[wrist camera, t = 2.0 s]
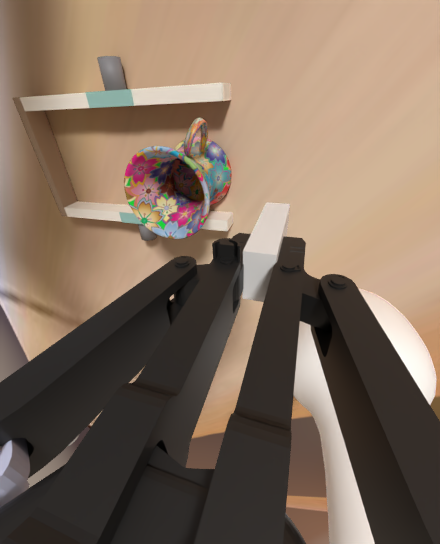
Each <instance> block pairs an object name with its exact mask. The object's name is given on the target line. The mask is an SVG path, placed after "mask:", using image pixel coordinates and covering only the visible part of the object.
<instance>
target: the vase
mask: <svg viewBox="0 0 440 544" xmlns="http://www.w3.org/2000/svg"><path fill="white" fill-rule="evenodd" d="M358 289H359V291H360V293H361V294H362V296H363V297H364V299H365V301H366V302H367V304H368V306H369V307H370V309H371V310H372V312H373V314H374V315H375V317H376V319H377V320H378V322H379V323H380V325H381V327H382V328H383V330H384V332H385V333H386V335H387V336H388V338H389V340H390V341H391V343H392V345H393V346H394V348H395V349H396V351H397V353H398V354H399V356H400V358H401V359H402V361H403V362H404V364H405V366H406V367H407V369H408V371H409V372H410V374H411V375H412V377H413V379H414V380H415V382H416V384H417V385H418V387H419V388H420V390H421V392H422V393H423V395H424V397H425V398H426V400H427V401H428V403H429V405H430V404H431V402H432V400H433V398H434V396H435V390H436V373H435V369H434V365H433V362H432V359H431V356H430V354H429V351H428V349H427V347H426V345H425V344H424V342H423V340H422V339H421V337H420V336H419V335H418V333H417V332H416V330H415V329H414V327H413V326H412V325H411V323H410V322H409V321H408V320H407V319H406V317H405V316H404V315H403V314H402V313H401V312H400V311H399V310H397V309H396V308H395V307H394V306H393V305H392V304H391V303H389V302H388V301H387V300H385V299H383V298H382V297H380V296H378V295H376V294H374V293H372V292H369V291H367V290H364V289H360V288H358ZM293 395H294V397H295V398H296V399H297V400H298V401H299V402H300V403H301V404H302V405H303V406H304V407H305V408H306V409H307V410H309V411H310V412H311V414H312V415H313V417H314V419H315V422H316V424H317V427H318V430H319V433H320V438H321V445H322V451H323V458H324V466H325V476H326V491H327V506H328V521H329V544H375V543H374V539H373V536H372V533H371V529H370V526H369V523H368V519H367V516H366V513H365V509H364V506H363V503H362V499H361V496H360V493H359V489H358V486H357V483H356V479H355V476H354V473H353V469H352V466H351V463H350V459H349V456H348V453H347V449H346V446H345V443H344V439H343V436H342V433H341V429H340V426H339V423H338V419H337V416H336V413H335V409H334V406H333V403H332V399H331V396H330V393H329V389H328V386H327V383H326V379H325V376H324V373H323V369H322V366H321V363H320V359H319V356H318V353H317V349H316V346H315V343H314V339H313V336H312V333H311V325H309V324H306V323H304V322H302V321H300V324H299V336H298V347H297V359H296V371H295V382H294V394H293Z"/></svg>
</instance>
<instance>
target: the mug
mask: <svg viewBox="0 0 440 544" xmlns="http://www.w3.org/2000/svg"><path fill="white" fill-rule="evenodd" d="M200 126H201V137H195V135H196V133H197V131H198V129H199V128H200ZM207 138H208V125H207V122H206V121H205V120H204V119H202V118H196V119H195V120H194V121H193V123H192V124H191V126H190V128H189V130H188V133H187V135H186V138H185V140H183V141H182V142H181V143H179V144H178V145H177V146H176V148H175V149H172V148H168V147H164V146H152V147H148V148H145V149H143V150H141V151H139V152H138V153H137V154H135V155H134V156H133V158H132V159H131V160H130V162H129V164H128V166H127V169H126V172H125V178H124V187H125V193H126V197H127V200H128V203H129V205H130V207H131V209H132V211H133V213H134V214H135V216H136V217H137V218H138V219H139V221H140V222H141V223H142V224H143V225H144V226H145V227H147V228H148V229H149V230H151V231H152V232H154V233H156V234H157V235H160V236H162V237H165V238H170V239H182V238H187V237H189V236H192V235H193V234H195V233H196V232H198V231H199V230H200V229H201V227H202V226H203V225H204V223H205V221H206V219H207V217H208V213H209V208H210V205H212V204H214V203H217V202H218V201H220V200H221V199H222V198H223V197H224V196H225V194H226V193H227V191H228V189H229V187H230V183H231V167H230V163H229V160H228V158H227V156H226V154H225V153H224V151H223V150H222V149H221V148H220V147H219V146H218V145H217V144H216V143H214V142H213V141H211V140H209V139H207Z"/></svg>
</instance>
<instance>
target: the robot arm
mask: <svg viewBox="0 0 440 544" xmlns="http://www.w3.org/2000/svg"><path fill="white" fill-rule="evenodd" d="M289 209H290V204H284V203H267V202H266V204H265V206H264V208H263V210H262V212H261V215H260V217H259V219H258V221H257V223H256V225H255V227H254V229H253V231H252V233H251V234H244V233H238V234H237V235H235V236H233V238H232V239H230V238H224V239H219V240H216V241H214V242H213V243H212V246H213V260H212V262H211V263H210V264H204V265H196V260H195V259H194V258H192V257H188V256H180V257H177V258H174V259H173V260H171V261H169V262H168V263H167V264H165V265H164V266H162V267H161V268H160V269H158V270H157V271H155V272H154V273H153V274H151V275H150V276H149V277H147V278H146V279H144V280H143V281H142V282H140V283H139V284H137V285H136V286H135V287H133V288H132V289H130V290H129V291H128V292H126V293H125V294H123V295H122V296H121V297H119V298H118V299H116V300H115V301H114V302H112V303H111V304H109V305H108V306H107V307H105V308H104V309H102V310H101V311H100V312H98V313H97V314H95V315H94V316H93V317H91V318H90V319H88V320H87V321H86V322H84V323H83V324H81V325H80V326H79V327H77V328H76V329H74V330H73V331H72V332H70V333H69V334H67V335H66V336H65V337H63V338H62V339H60V340H59V341H58V342H56V343H55V344H53V345H52V346H51V347H49V348H48V349H46V350H45V351H44V352H42V353H41V354H39V355H38V356H37V357H35V358H34V359H32V360H31V361H30V362H28V363H27V364H26V365H24V366H23V367H22V368H20V369H19V370H17V371H16V372H14V373H13V374H12V375H10V376H9V377H7V378H6V379H5V380H3V381H2V382H0V544H306V543H305V541H304V539H303V538H302V536H301V534H300V532H299V531H298V529H297V528H296V526H295V525H294V523H293V522H292V520H291V519H290V518H289V517H288V516H287V514H286V513H285V512H286V500H287V488H288V475H289V463H290V451H291V417H292V405H293V394H294V382H295V371H296V359H297V347H298V336H299V324H300V321H302V322H304V323H306V324H309V325H311V333H312V336H313V339H314V343H315V346H316V349H317V353H318V356H319V359H320V363H321V366H322V369H323V373H324V376H325V379H326V383H327V386H328V389H329V393H330V396H331V399H332V403H333V406H334V409H335V413H336V416H337V419H338V423H339V426H340V429H341V433H342V436H343V439H344V443H345V446H346V449H347V453H348V456H349V459H350V463H351V466H352V469H353V473H354V476H355V479H356V483H357V486H358V489H359V493H360V496H361V499H362V503H363V506H364V509H365V513H366V516H367V519H368V523H369V526H370V529H371V533H372V536H373V539H374V543H375V544H440V421H439V419H438V418H437V416H436V415H435V413H434V411H433V410H432V408H431V406H430V405H429V403H428V401H427V400H426V398H425V397H424V395H423V393H422V392H421V390H420V388H419V387H418V385H417V384H416V382H415V380H414V379H413V377H412V375H411V374H410V372H409V371H408V369H407V367H406V366H405V364H404V362H403V361H402V359H401V358H400V356H399V354H398V353H397V351H396V349H395V348H394V346H393V345H392V343H391V341H390V340H389V338H388V336H387V335H386V333H385V332H384V330H383V328H382V327H381V325H380V323H379V322H378V320H377V319H376V317H375V315H374V314H373V312H372V310H371V309H370V307H369V306H368V304H367V302H366V301H365V299H364V297H363V296H362V294H361V293H360V291H359V289H358V288H357V286H356V284H355V283H354V282H353V281H352V280H351V279H349V278H347V277H345V276H342V275H337V274H329V275H325V276H323V277H322V278H321V279H320V280H319V279H316V278H314V277H312V276H310V275H308V274H307V273H306V272H305V270H304V256H305V245H306V243H305V241H304V240H303V239H302V238H294V237H287V228H288V219H289ZM242 291H243V299H249V300H256V301H262V302H264V304H263V307H262V311H261V315H260V318H259V322H258V326H257V330H256V333H255V337H254V341H253V345H252V348H251V352H250V356H249V360H248V363H247V367H246V371H245V375H244V378H243V382H242V386H241V390H240V393H239V397H238V401H237V405H236V408H235V411H234V413H233V414H231V416H230V418H229V421H228V424H227V427H226V431H225V434H224V438H223V442H222V445H221V449H220V453H219V456H218V460H217V463H216V467H215V469H191V468H185V467H186V462H187V459H188V452H189V445H190V441H191V438H192V435H193V432H194V430H195V427H196V424H197V421H198V419H199V416H200V413H201V411H202V408H203V405H204V402H205V400H206V397H207V394H208V391H209V389H210V386H211V383H212V381H213V378H214V375H215V372H216V370H217V367H218V364H219V361H220V359H221V356H222V353H223V351H224V348H225V345H226V342H227V340H228V337H229V334H230V331H231V329H232V326H233V323H234V321H235V318H236V315H237V312H238V310H239V307H240V296H241V294H242ZM173 294H174V298H173V299H172V300H170V299H169V298H170V297H171V296H172V295H173ZM145 365H146V366H145ZM144 366H145V367H144ZM143 367H144V369H143V370H142V372H141V374H140V375H139V377H138V378H137V379H136V381H135V382H133V383H129V382H130V381H131V380H132V379H133V378H134V377H135V376H136V375H137V374H138V373H139V372H140V370H141V369H142V368H143ZM102 410H103V411H102ZM101 411H102V412H101ZM100 412H101V414H100V415H99V416H98V418H97V419H96V421H95V422H94V424H93V425H92V427H91V428H90V430H89V431H88V433H87V434H86V436H85V437H84V439H83V440H82V442H81V443H80V444H79V446H78V447H77V449H76V450H75V452H74V453H73V455H72V456H71V458H70V459H69V461H68V462H67V463H66V464H65V465H64V466H62V467H61V468H59V469H58V470H56V471H55V472H53V473H52V474H50V475H49V476H47V477H45V478H44V479H43V480H41V481H39V482H38V483H36V484H35V485H33V486H32V487H30V488H29V483H28V482H27V480H28V478H29V477H30V476H32V475H33V474H35V473H36V472H38V471H39V470H40V469H42V468H43V467H44V466H45V465H46V464H48V463H49V462H50V461H51V460H53V458H55V457H56V456H57V455H58V454H59V453H61V452H62V451H63V450H64V449H65V448H66V447H67V446H68V445H69V444H70V443H71V442H72V441H73V440H74V439H75V438H76V437H77V436H78V435H79V434H80V433H81V432H82V431H83V430H84V429H85V428H86V427H87V426H88V425H89V424H90V423H91V422H92V421H93V419H94V418H95V417H96V416H97V415H98V414H99V413H100Z"/></svg>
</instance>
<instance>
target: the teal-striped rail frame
mask: <svg viewBox="0 0 440 544" xmlns="http://www.w3.org/2000/svg"><path fill="white" fill-rule="evenodd" d="M97 59H98V63H99V67H100V71H101V75H102V79H103V83H104V87H105V91H98V92H85V93H73V94H59V95H45V96H32V97H18V98H13V100H14V103H15V105H16V108H17V110H18V112H19V115H20V117H21V120H22V122H23V124H24V127H25V129H26V131H27V134H28V136H29V139H30V141H31V143H32V146H33V148H34V151H35V153H36V155H37V158H38V160H39V163H40V165H41V167H42V170H43V172H44V175H45V177H46V179H47V182H48V184H49V187H50V189H51V191H52V194H53V196H54V199H55V201H56V203H57V206H58V208H59V211H60V213H61V215H62V216H66V217H77V218H88V219H99V220H109V221H120V222H124V223H135V224H138V226H139V230H140V234H141V239H142V240H145V241H148V240H153V239H155V238H156V237H157V234H156V233H154V232H152V231H151V230H149V229H148V228H147V227H145V226H144V225H143V224H142V223H141V222H140V221H139V219H138V218H137V217H136V216H135V214H134V213H133V211H132V209H131V207H130V205H122V204H108V203H93V202H79V201H77V198H76V195H75V192H74V190H73V187H72V184H71V182H70V179H69V176H68V173H67V171H66V168H65V165H64V162H63V160H62V157H61V154H60V152H59V149H58V146H57V143H56V141H55V138H54V135H53V133H52V130H51V127H50V124H49V122H48V119H47V116H46V113H45V111H44V110H60V109H79V108H100V107H119V106H136V105H155V104H174V103H193V102H212V101H227V100H231V83H210V84H196V85H183V86H169V87H155V88H141V89H126V84H125V79H124V74H123V69H122V64H121V59H120V57H116V56H103V57H98V58H97ZM232 224H233V212H221V211H209V213H208V217H207V219H206V221H205V223H204V225H203V226H202V227H201V229H207V230H218V231H228V230H229V228H230V227H231V225H232Z"/></svg>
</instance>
